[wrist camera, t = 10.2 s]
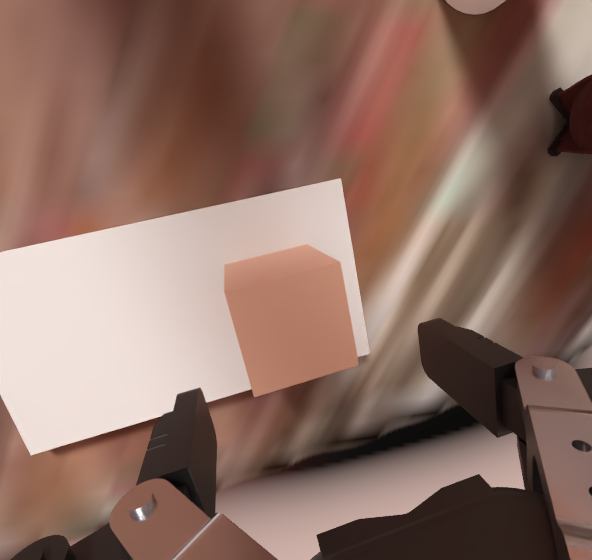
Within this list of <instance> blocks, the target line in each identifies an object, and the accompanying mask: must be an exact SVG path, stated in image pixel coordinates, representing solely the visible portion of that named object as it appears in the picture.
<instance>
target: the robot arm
mask: <svg viewBox="0 0 592 560" xmlns="http://www.w3.org/2000/svg"><path fill="white" fill-rule="evenodd" d="M418 337H419V346H420V354H421V362H422V366H423V369H424V371H425V373H426V374H427V376H428V377H429V378H430V379H431V380H432V381H433V382H435V383H436V384H437V385H438V386H439V387H440V388H441V389H443V390H444V391H445V392H446V393H447V394H448V395H449V396H451V397H452V398H453V399H454V400H455V401H456V402H457V403H458V404H460V405H461V406H462V407H463V408H464V409H465V410H467V411H468V412H469V413H470V414H471V415H472V416H473V417H474V418H476V419H477V420H478V421H479V422H480V423H481V424H482V425H484V426H485V427H486V428H487V429H488V430H489V431H490V432H491V433H493V434H494V435H495V436H496V437H497V438H498V437H501V436H504V435H507V434H509V433H512V432H514V433H515V434H516V435H517V447H518V453H519V459H520V465H521V470H522V476H523V482H524V487H525V490H523V489H517V488H507V487H493V488H491V487H490V486H489V484H488V483H487V482H486V481H485V480H484V479H483V478H482V477H481V476H480V475H479V474H478V475H475V476H473V477H470V478H467V479H465V480H462V481H459V482H457V483H454V484H451V485H449V486H446V487H443V488H441V489H440V490H438V491H437V492H436V493H434V494H433V495H432V496H430V497H429V498H428V499H427V500H425V501H424V502H422V504H420V505H419V506H417V507H416V508H415V509H413V510H412V511H411V512H409V513H407V514H403V515H394V516H385V517H375V518H365V519H358V520H355V521H353V522H350V523H347V524H345V525H342V526H339V527H337V528H334V529H331V530H329V531H326V532H323V533H321V534H318V535H317V539H318V542H319V547H320V551H321V552H319V553H318V554H317V555H315V556H314V557H313V558H312V559H311V560H592V368H586V369H574V368H573V367H572V366H571V365H569V364H567V363H566V362H563V361H561V360H558V359H554V358H550V357H542V356H533V357H526V358H523V357H521V356H519V355H517V354H516V353H514V352H512V351H510V350H508V349H506V348H504V347H502V346H501V345H499V344H497V343H493V341H491V340H489V339H488V338H484V336H482V335H480V334H478V333H476V332H474V331H473V330H469V329H465V328H461V327H455V326H454V325H452V324H450V323H448V322H446V321H445V320H443V319H441V318H437V319H433V320H430V321H427V322H423V323H420V324H419V325H418ZM150 439H151V441H149V444H148V448H147V450H148V451H146V454H145V458H144V461H143V464H142V468H141V471H140V474H139V478H138V481H137V484H136V486H135V487H134V488H132V489H131V490H130V491H128V492H127V493H126V494H125V495H124V496H123V497H122V498H121V499H120V500H119V502H118V503H117V504H116V506H115V507H114V509H113V511H112V513H111V516H110V521H109V523H108V524H107V525H105V526H104V527H102V528H101V529H99V530H97V531H96V532H94V533H92V534H91V535H89V536H87V537H86V538H84V539H82V540H81V541H79V542H77V543H75V544H74V545H72V546H70V545H69V543H68V541H67V539H66V538H65V537H64V536H61V535H52V536H48V537H45V538H42V539H40V540H38V541H36V542H34V543H32V544H31V545H29V546H27V547H26V548H24V549H23V550H22V551H20V552H19V553H18V554H17V555H16V556H14V557H13V558H12V559H11V560H277V559H276V558H275V557H274V556H273V555H272V554H270V553H269V552H268V551H267V550H266V549H264V548H263V547H262V546H261V545H259V544H258V543H257V542H256V541H255V540H253V539H252V538H251V537H250V536H249V535H247V534H246V533H245V532H244V531H243V530H241V529H240V528H239V527H238V526H237V525H235V524H234V523H233V522H232V521H230V520H229V519H228V518H227V517H226V516H224V515H223V514H221V513H216V514H215V499H216V460H217V440H216V433H215V429H214V425H213V422H212V419H211V416H210V413H209V410H208V407H207V404H206V401H205V397H204V394H203V392H202V390H201V388H196V389H193V390H189V391H186V392H182V393H179V394H177V396H176V401H175V405H174V409H173V411H172V412H168V413H165V414H163V415H162V417H161V418H160V419H159V420H158V422H157V423H156V424H155V426H154V428H153V431H152V434H151V438H150Z"/></svg>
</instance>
